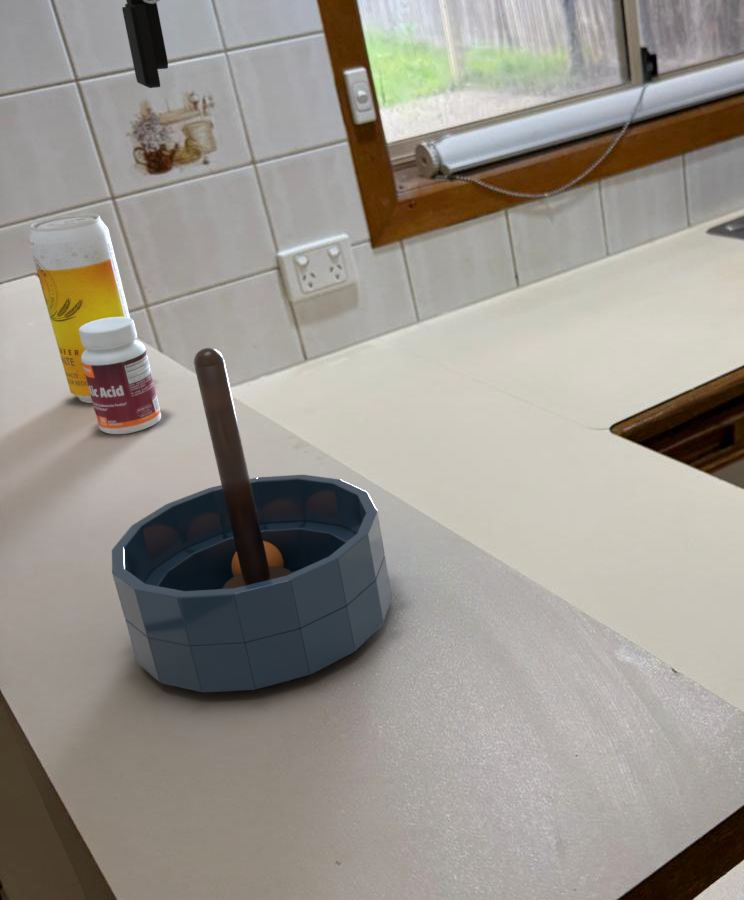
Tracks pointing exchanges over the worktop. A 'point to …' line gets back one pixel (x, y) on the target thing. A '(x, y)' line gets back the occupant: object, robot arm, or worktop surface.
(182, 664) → the bowl
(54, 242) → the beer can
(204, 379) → the wooden tamper
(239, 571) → the orange ball
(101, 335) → the pill bottle
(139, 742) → the worktop surface
